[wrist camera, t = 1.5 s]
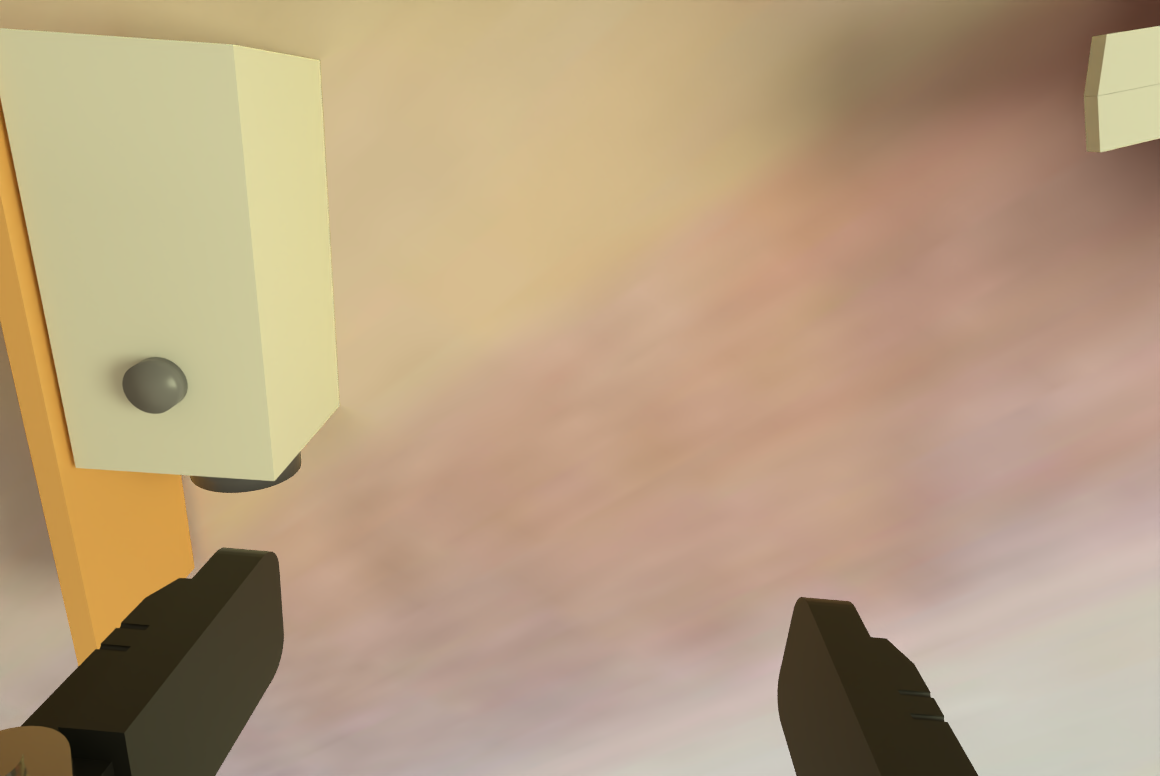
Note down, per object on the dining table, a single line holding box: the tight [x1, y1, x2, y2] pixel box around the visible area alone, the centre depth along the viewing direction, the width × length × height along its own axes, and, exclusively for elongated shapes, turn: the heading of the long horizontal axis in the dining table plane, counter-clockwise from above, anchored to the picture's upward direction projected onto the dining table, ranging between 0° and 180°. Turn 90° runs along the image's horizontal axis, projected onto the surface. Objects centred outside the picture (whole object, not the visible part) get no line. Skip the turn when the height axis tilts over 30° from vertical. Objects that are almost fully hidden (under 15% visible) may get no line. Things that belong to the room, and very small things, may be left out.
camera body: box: [0, 28, 339, 493], centre depth 30 cm, size 17×8×9 cm, turn 176°
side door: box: [0, 98, 195, 666], centre depth 32 cm, size 26×2×8 cm, turn 176°
